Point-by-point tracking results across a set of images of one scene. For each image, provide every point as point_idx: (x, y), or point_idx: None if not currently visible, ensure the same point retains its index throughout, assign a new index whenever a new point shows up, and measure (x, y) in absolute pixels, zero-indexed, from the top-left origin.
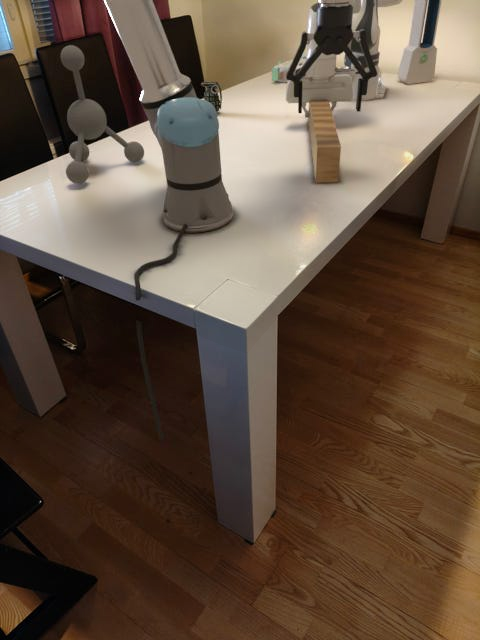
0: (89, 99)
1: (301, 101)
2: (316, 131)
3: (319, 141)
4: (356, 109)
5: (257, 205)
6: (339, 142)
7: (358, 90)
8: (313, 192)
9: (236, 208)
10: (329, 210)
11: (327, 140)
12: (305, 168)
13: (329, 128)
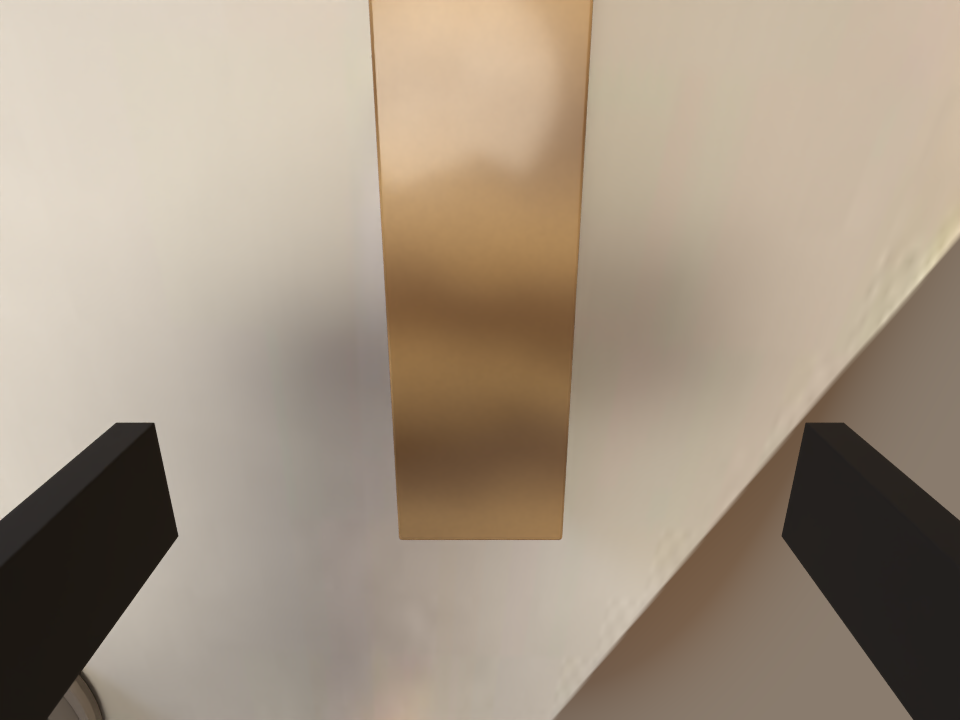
0: None
1: (104, 632)
2: (393, 173)
3: (417, 430)
4: (795, 489)
5: (175, 629)
6: (564, 461)
7: (931, 670)
8: None
9: None
10: (473, 671)
11: (479, 413)
12: (361, 211)
13: (522, 85)
